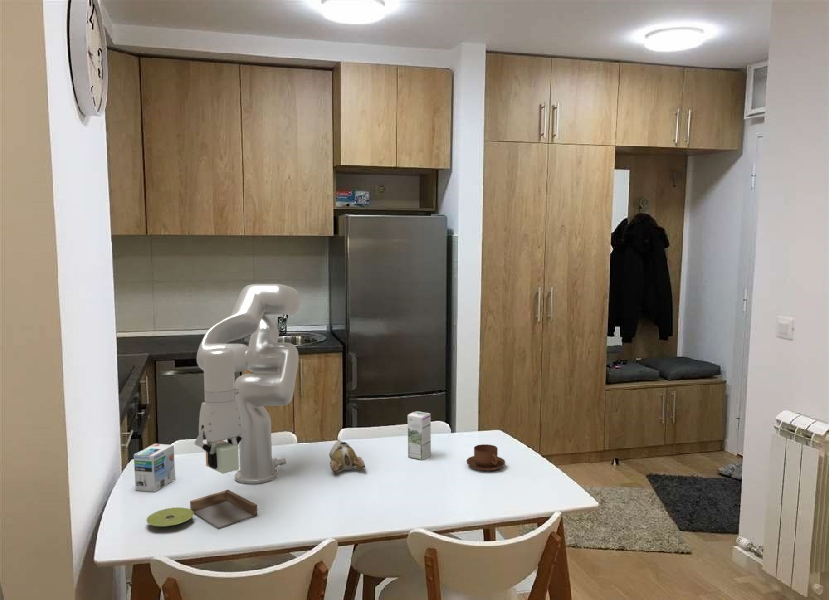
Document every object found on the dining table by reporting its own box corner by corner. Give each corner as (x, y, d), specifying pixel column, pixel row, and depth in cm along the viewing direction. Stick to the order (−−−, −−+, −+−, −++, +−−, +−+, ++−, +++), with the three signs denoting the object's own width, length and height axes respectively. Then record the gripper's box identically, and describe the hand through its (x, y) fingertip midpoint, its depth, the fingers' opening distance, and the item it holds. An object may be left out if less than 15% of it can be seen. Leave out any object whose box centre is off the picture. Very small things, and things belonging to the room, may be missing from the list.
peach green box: (239, 469, 170) (238, 446, 169) (223, 473, 166) (222, 450, 166) (221, 461, 176) (220, 439, 175) (206, 465, 173) (205, 443, 172)
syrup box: (431, 455, 216) (431, 412, 215) (422, 460, 211) (421, 416, 210) (417, 452, 219) (416, 410, 218) (407, 457, 214) (406, 414, 213)
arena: (228, 500, 181) (227, 489, 181) (257, 515, 170) (257, 504, 170) (190, 512, 173) (190, 501, 173) (218, 529, 163) (218, 517, 162)
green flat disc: (198, 513, 173) (197, 505, 172) (188, 531, 161) (188, 524, 161) (153, 515, 171) (153, 508, 171) (141, 534, 160) (140, 527, 160)
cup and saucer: (512, 466, 206) (512, 447, 205) (489, 476, 197) (489, 456, 197) (482, 458, 214) (482, 439, 213) (458, 467, 205) (458, 448, 205)
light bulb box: (155, 492, 187) (153, 455, 186) (134, 491, 188) (132, 454, 187) (176, 479, 198) (174, 444, 197) (156, 477, 199) (154, 443, 198)
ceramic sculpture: (354, 432, 213) (367, 448, 199) (354, 458, 214) (367, 476, 201) (321, 436, 209) (332, 453, 196) (322, 462, 211) (333, 481, 197)
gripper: (241, 388, 178) (243, 454, 180) (182, 399, 166) (184, 469, 168) (256, 393, 173) (258, 460, 174) (196, 404, 161) (198, 476, 162)
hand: (222, 464), depth 171 cm, fingers closed on peach green box, 4 cm apart
